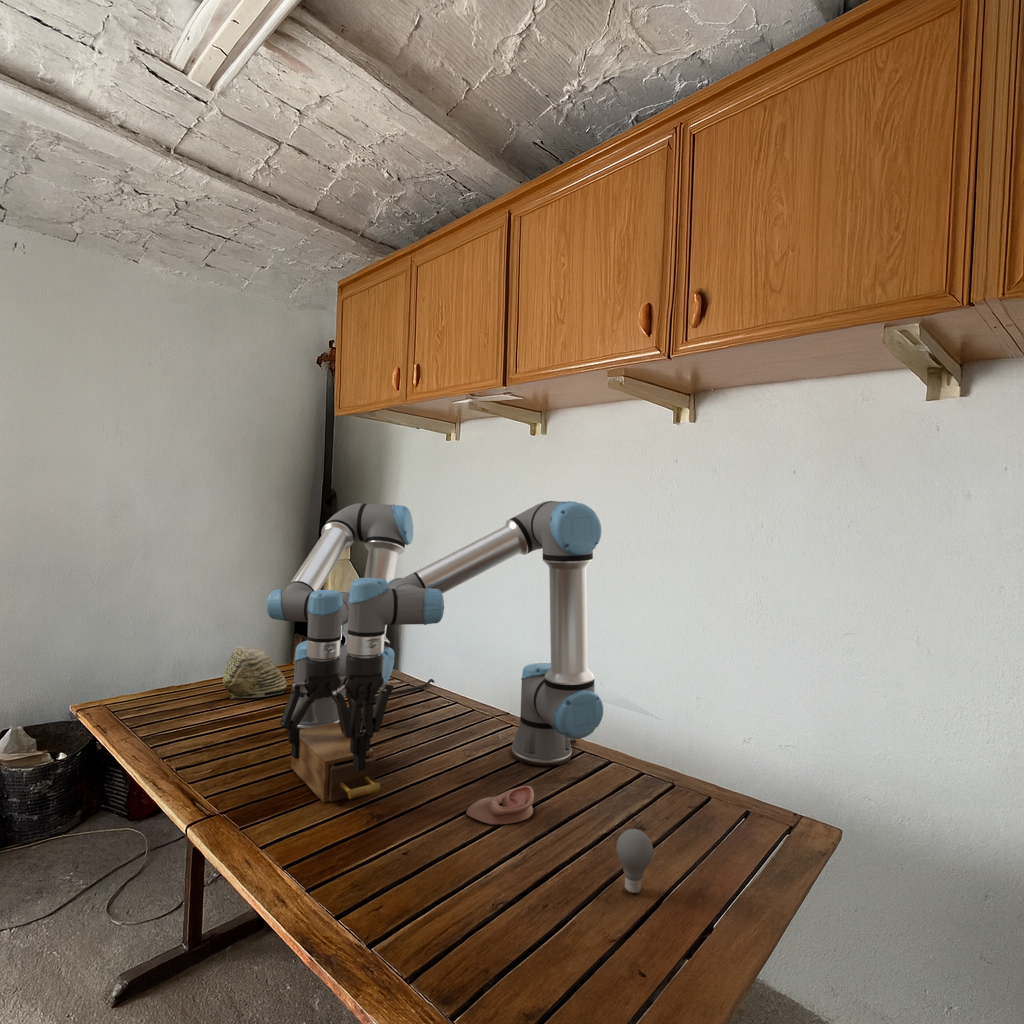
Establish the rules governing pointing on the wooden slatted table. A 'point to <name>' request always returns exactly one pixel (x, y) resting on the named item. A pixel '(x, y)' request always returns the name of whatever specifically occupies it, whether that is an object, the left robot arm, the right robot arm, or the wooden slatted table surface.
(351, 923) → the wooden slatted table surface
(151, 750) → the wooden slatted table surface
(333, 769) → the drawer
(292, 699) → the left robot arm
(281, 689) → the fossil
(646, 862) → the light bulb
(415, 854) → the wooden slatted table surface
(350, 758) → the cabinet
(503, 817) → the anatomical model
